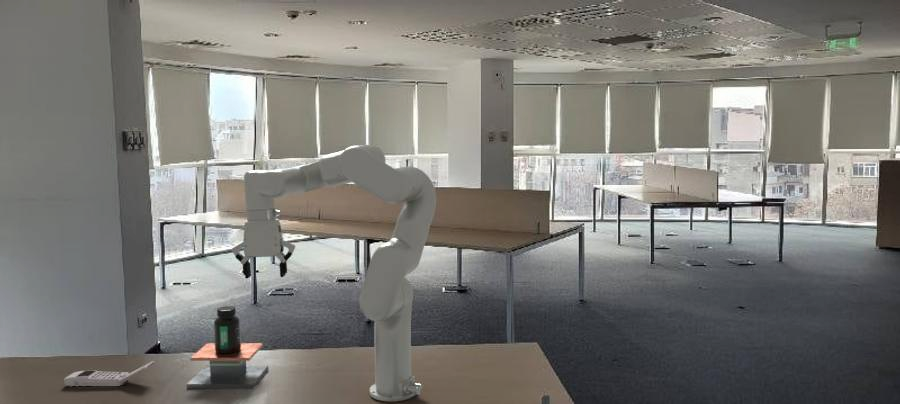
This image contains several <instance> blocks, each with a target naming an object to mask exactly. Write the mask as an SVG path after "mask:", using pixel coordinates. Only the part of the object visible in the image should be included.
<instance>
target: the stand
mask: <svg viewBox="0 0 900 404" xmlns="http://www.w3.org/2000/svg"><path fill="white" fill-rule="evenodd" d="M263 346H264V343H262V342H260V343H259V342H255V343H253V342H252V343H251V342H250V343H249V342H248V343H247V342H243V343H242V342H241V349H240V350H239V351H237V352H235V353H231V354H219V353H217V352H216V351H215V342H214V343H213V342H209V343H206V344H205V345H203V346H202V347H201V348H200V349H199V350H198V351H197V352H196V353H194V354H193V355H191V356H190V359H189V360H190V361H191V362H192V361H198V362H200V361H203V362H204V361H205V362H207V361H208V362H209V365H205V366H204V367H203V368H202V369H201V370H200V371H199V372H198V373H197V374H196V375H195V376H193V378H191V379H190V380H189V381H188V382H187V383H186V389H222V390H223V389H229V390H230V389H237V390H239V389H244V390H245V389H249V390H251V389H254V388H255V387H256V386H257V384H258V383H259V382H260V380H261V379H262V378H263V377H264V376H265V374H266V373H267V372H268V371H269V365H247V362H250V361H251V360H252V358H253V357H255V355H256V354H257V353H258V352H260V350H261V349H262V347H263Z"/></svg>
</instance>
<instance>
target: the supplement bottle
mask: <svg viewBox="0 0 900 404" xmlns="http://www.w3.org/2000/svg"><path fill="white" fill-rule="evenodd" d="M216 311H217V312H216V313H217V314H216V318H215V319H214V321H213V332H214V333H213V334H214V343H215V351H216V352H217V353H219V354H231V353H235V352H237V351H239V350H240V349H241V343H242V342H241V341H242V339H241V320H240V318H239V317H238V316H237V312H236V311H237V310H236V307H235V306H231V305H228V306H227V305H225V306H220V307H218V308H217V309H216Z"/></svg>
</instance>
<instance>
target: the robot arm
mask: <svg viewBox="0 0 900 404" xmlns="http://www.w3.org/2000/svg"><path fill="white" fill-rule="evenodd" d="M243 178H244V179H243V181H244V193H245V194H244V195H245V208H246V210H245V211H246V220H245V221H244V226H243V241H242V242H241V243H239V244H237V245H236V246H234V247H232V248H231V252H232V253H233V255H234V256H235V259H236V260H238V261H239V262H240V264H241V265H242V275H243V276H244V277H245V279H249V278H250V277H251V276H252V269H251V262H250V261H249V260H250V259H251V258H263V257H265V258H266V257H267V258H269V257H276V258H277V260H279V261H280V262H279V276H280V278H284V277H285V276H286V274H288V263H287V261H289V260H290V258H291V257H292V256H293V253H294V252H295V249H296V245H295V244H293V243H290V242H288V241H286V240H284V237H283V232H282V226H281V222H280V219H279V218H277V217H278V216H281V210H280V209H279V210H278V209H277V208H276V206H275V203H276V202H275V199H277V198H278V199H280V198H285V197H286V198H287V197H290V196H291V197H292V196H295V195H301V194H304V193H308V192H313V191H316V190H320V189H325V188H334V187H337V186H342V185H346V184H350V183H353V184H355V185H356V186H358V187H359V188H361V189H362V190H364V191H365V192H367V193H369V194H370V195H372V196H374V197H375V198H377V199H379V200H380V201H382V202H384V203H388V204H391V205H395V204H401V203H403V206H402V208H401V211H400V213H399V214H398V216H397V220H396V224H395V227H394V230H393V232H392V235H391V238H390V240H388V241H387V242H385V243H382V244H381V245H379V246H378V247H377V248H376V249H375V251H374V252H373V253H372V256H371V258H370V260H369V265H368V267H367V271H366V273H365V277H364V281H363V284H362V288H361V290H360V293H359V307H360V310H361V312H362V314H363V315H364V316H365V317H366V318H367V319H368V320H370V321H373V322H374V327H373V331H374V336H373V338H374V339H373V340H374V341H373V343H374V344H373V345H374V381H375V383H374V384H372V385H371V386H370V387H369V396H371V398H373V399H374V400H378V401H380V402H381V401H382V402H388V403H389V402H390V403H392V402H393V403H394V402H401V401H405V400H409V399H411V398H413V397H415V396H416V395H417V396H419V395H420V394H421V392H422V389H423V384H422V383H417V382H416V381H415V380H416V379H415V378H416V377H415V376H414V375H412V340H411V339H412V337H411V336H412V332H411V331H412V328H411V326H412V310H413V300H414V291H413V286H412V284H411V282H410V281H409V280H408V278H406V276H408V275H409V274H411V273H413V271H415V270H416V269H417V268H418V266H419V265H420V261H421V259H422V258H421V257H422V254H423V252H424V249H425V245H426V242H427V238H428V235H429V233H430V232H429V231H430V228H431V225H432V221H433V218H434V216H435V212H436V206H437V192H436V188H435V185H434V183H433V181H432V180H431V178H430V177H429V175H428V174H426V173H425V171H423V170H421V169H420V168H418V167H414V166H401V167H396V168H394V167H392V166H390V165H389V164H387V162H386V155H385V154H384V152H383V151H382V149H381V148H380V147H378V146H376V145H373V144H361V145H360V144H359V145H352V146H349V147H347V148H346V149H344V150H340V151H338V152H333V153H328V154H325V155H323V156H321V158H320V160H318V161H314V162H311V163H307V164H303V165H299V166H294V167H287V168H279V169H273V170H269V169H268V170H267V169H255V170H254V169H253V170H248V171H246V172H245V173H244V176H243ZM242 248H243V254H244V255H242V253H241V252H240V250H241V249H242ZM285 248H286V249H288V250H287V253H286V254H285V253H284V251H285Z"/></svg>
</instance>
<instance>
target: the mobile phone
mask: <svg viewBox="0 0 900 404" xmlns="http://www.w3.org/2000/svg"><path fill="white" fill-rule="evenodd" d="M154 363H155V360H151V361H150V362H147V363H146V364H143V366H140V367H139V368H136V369H134V370H133V371H131V372H128V371H126V372H125V371H124V372H123V371H99V370H96V369H95V370H93V369H91V370H87V369H86V370H80V371H74V372H72V373H71V374H69V375H67V376H66V377H65V378H63V381H64V382H63V384H64V386H67V387H72V386H120V385H122V384H123V383H124V382H125V381H127V380H128V381H129V379H130V378H131V377H133V376H135V375H136V374H138V373H140V372H143V371H145V370H146V369H148V368H149V367H150V366H152V365H153V364H154ZM128 381H127V382H128ZM125 383H126V382H125ZM125 383H124V384H125ZM124 384H123V385H124ZM123 385H122V386H123ZM120 387H121V386H120Z"/></svg>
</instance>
